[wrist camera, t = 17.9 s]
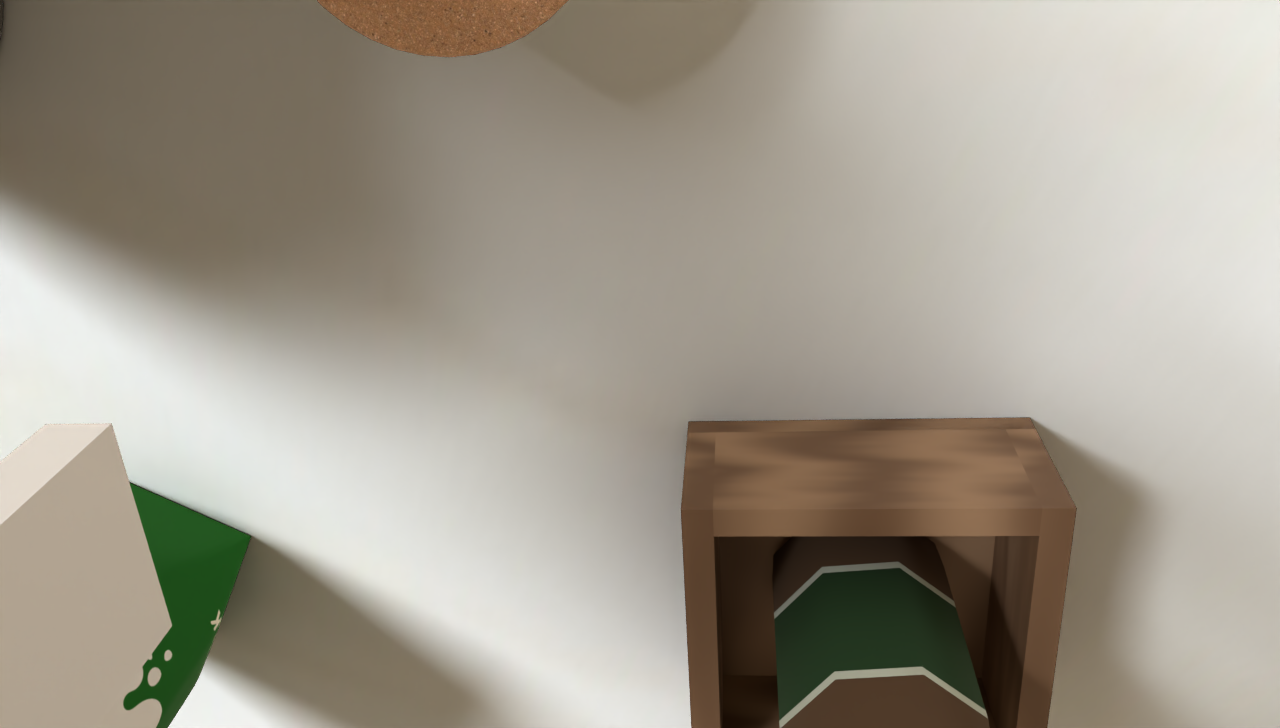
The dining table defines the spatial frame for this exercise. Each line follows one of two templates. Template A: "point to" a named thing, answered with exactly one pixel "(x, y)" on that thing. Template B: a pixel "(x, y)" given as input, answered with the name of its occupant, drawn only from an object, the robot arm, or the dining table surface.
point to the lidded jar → (443, 23)
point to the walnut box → (874, 506)
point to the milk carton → (180, 606)
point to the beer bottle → (870, 636)
